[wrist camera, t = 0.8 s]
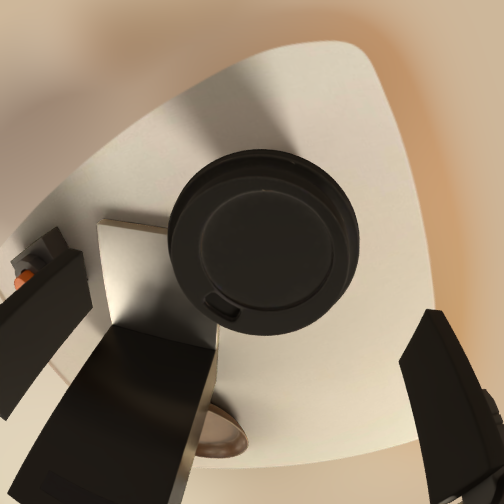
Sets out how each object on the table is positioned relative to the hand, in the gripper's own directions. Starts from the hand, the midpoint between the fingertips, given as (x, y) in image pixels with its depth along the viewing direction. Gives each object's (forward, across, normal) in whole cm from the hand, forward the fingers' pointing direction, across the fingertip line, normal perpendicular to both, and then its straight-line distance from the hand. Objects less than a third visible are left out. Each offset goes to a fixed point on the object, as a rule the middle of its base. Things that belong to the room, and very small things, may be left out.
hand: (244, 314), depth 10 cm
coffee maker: (+18, -11, -17) cm, 27 cm away
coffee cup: (+18, 0, 0) cm, 18 cm away
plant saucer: (+18, -8, -41) cm, 45 cm away
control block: (+18, -28, -14) cm, 36 cm away
